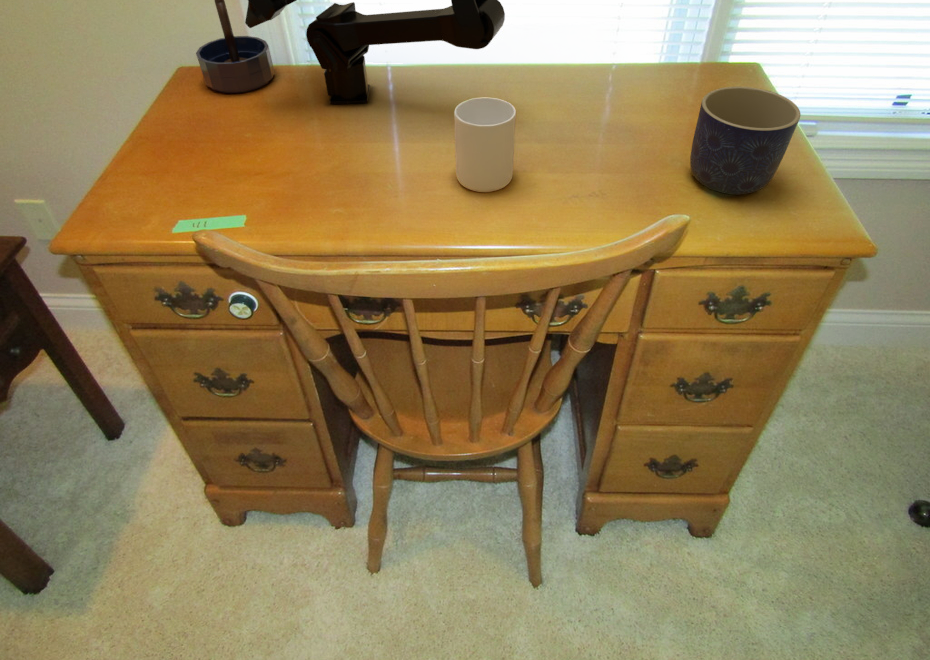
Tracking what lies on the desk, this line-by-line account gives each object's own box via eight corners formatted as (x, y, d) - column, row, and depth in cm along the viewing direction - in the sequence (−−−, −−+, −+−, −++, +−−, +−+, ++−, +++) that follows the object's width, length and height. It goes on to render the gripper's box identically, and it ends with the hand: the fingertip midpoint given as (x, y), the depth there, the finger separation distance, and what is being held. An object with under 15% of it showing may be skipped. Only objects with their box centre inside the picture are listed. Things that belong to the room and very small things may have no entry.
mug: (453, 151, 97) (451, 86, 90) (506, 149, 98) (508, 84, 90) (457, 195, 89) (456, 127, 82) (516, 192, 89) (519, 124, 82)
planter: (695, 204, 87) (716, 130, 79) (674, 157, 95) (691, 86, 88) (785, 202, 87) (816, 128, 79) (756, 155, 95) (781, 85, 88)
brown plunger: (256, 77, 116) (236, -3, 106) (231, 84, 114) (208, 3, 104) (248, 68, 118) (227, -11, 109) (223, 74, 117) (199, -6, 107)
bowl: (280, 64, 121) (273, 34, 117) (268, 93, 112) (260, 62, 108) (215, 66, 121) (206, 36, 117) (198, 95, 112) (187, 64, 108)
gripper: (299, -114, 99) (255, -42, 109) (232, -85, 87) (189, -7, 97) (351, -53, 103) (304, 11, 113) (294, -17, 91) (246, 51, 101)
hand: (263, 15), depth 106 cm, fingers open, 9 cm apart
